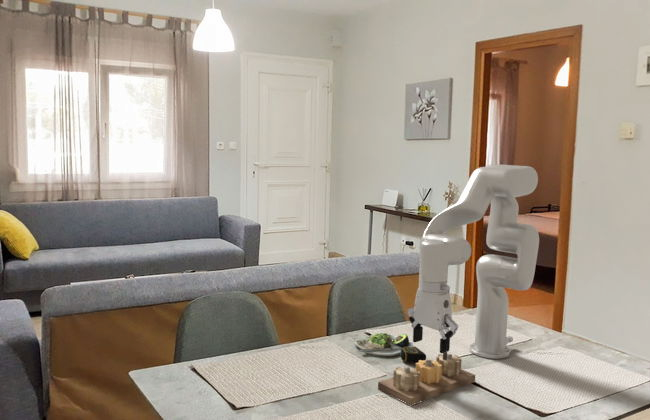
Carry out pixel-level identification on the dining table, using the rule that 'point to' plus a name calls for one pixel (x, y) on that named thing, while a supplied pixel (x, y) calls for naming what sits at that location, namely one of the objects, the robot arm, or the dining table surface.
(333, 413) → the dining table surface
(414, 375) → the gear board
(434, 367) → the ochre gear
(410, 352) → the tape measure
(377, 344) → the salad plate
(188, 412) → the dining table surface
